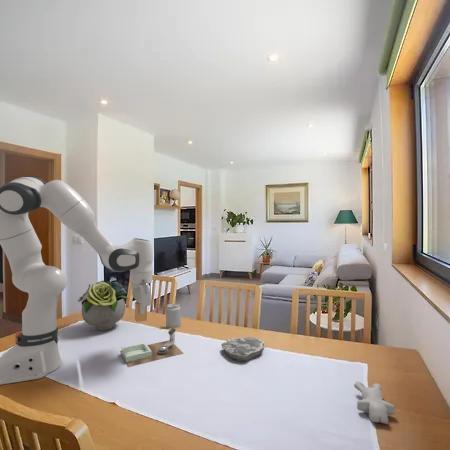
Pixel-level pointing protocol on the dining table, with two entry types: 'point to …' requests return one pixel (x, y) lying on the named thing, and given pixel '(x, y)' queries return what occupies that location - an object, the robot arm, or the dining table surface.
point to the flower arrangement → (103, 304)
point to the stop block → (139, 316)
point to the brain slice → (243, 348)
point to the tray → (136, 352)
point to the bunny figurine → (374, 403)
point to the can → (173, 316)
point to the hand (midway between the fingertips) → (140, 312)
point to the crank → (170, 342)
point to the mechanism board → (157, 353)
